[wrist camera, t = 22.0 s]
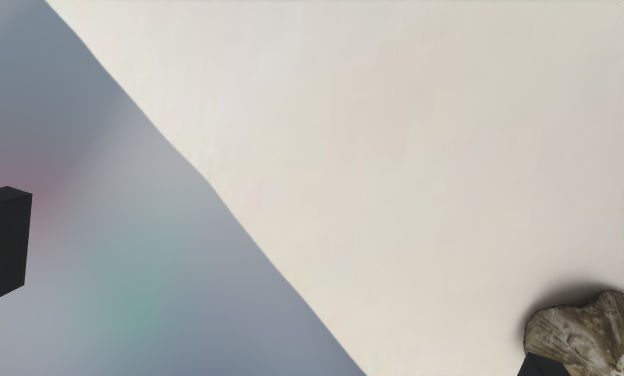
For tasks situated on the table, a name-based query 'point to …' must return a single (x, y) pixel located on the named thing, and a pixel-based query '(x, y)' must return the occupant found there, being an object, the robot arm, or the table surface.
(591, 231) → the table surface
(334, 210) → the table surface
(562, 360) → the fossilized seashell
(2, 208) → the robot arm
